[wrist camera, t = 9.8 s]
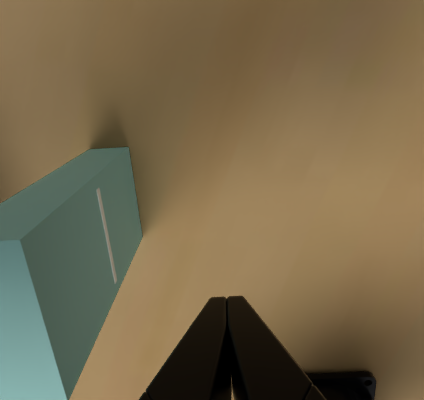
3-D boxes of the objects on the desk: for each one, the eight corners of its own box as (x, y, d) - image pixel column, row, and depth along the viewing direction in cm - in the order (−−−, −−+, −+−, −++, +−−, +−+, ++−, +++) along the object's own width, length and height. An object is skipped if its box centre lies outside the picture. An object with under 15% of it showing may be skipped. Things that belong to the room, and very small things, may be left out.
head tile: (129, 146, 17) (20, 239, 8) (143, 237, 19) (68, 402, 9) (88, 149, 17) (-69, 244, 8) (106, 238, 19) (-4, 404, 10)
